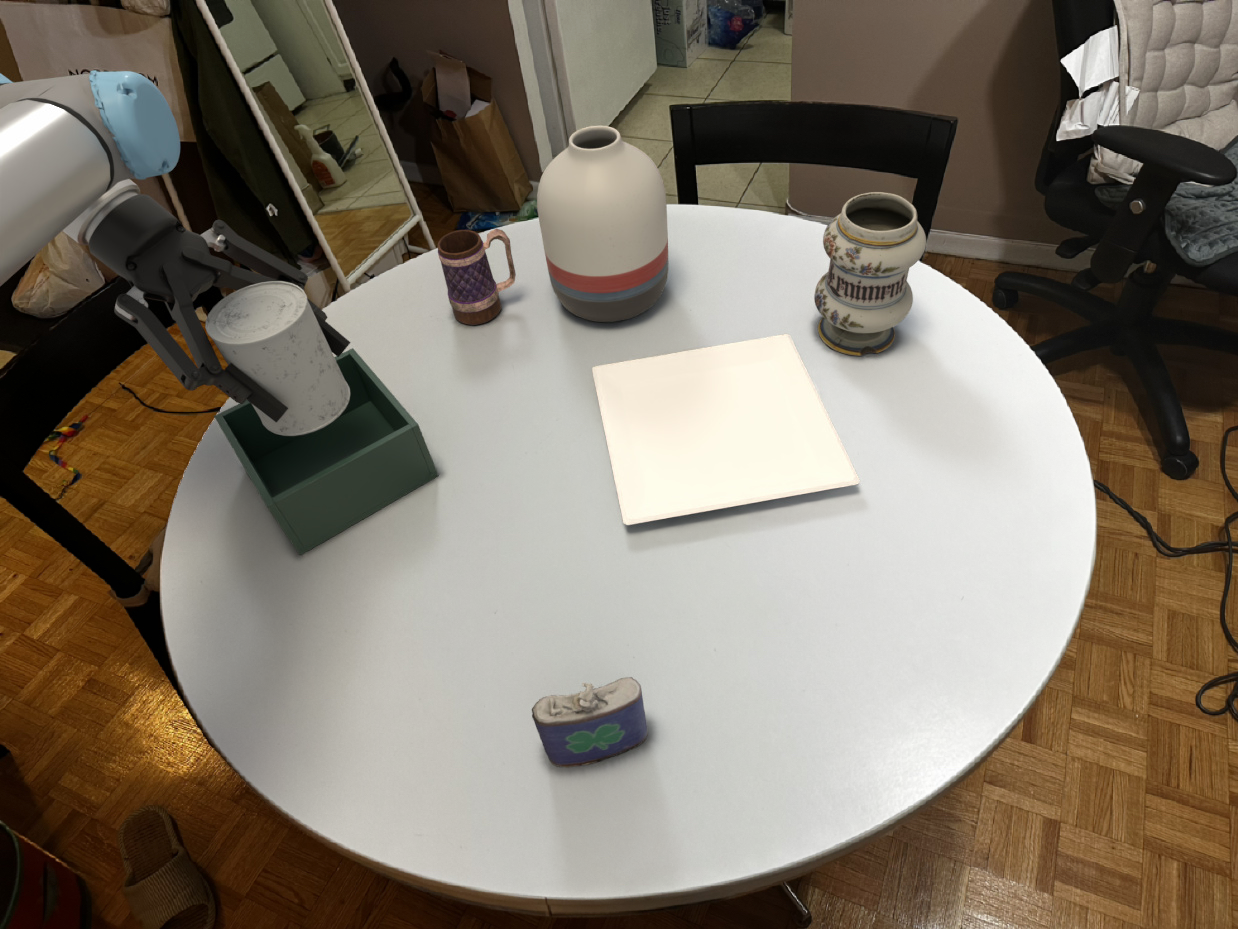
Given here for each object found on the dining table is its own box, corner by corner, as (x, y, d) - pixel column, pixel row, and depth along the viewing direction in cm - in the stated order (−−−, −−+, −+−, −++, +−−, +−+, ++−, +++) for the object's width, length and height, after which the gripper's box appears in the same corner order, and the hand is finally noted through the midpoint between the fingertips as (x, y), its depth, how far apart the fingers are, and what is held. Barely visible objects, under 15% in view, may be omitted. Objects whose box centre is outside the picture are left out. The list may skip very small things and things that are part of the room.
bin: (300, 555, 87) (266, 506, 80) (247, 466, 97) (213, 415, 90) (438, 475, 93) (418, 424, 86) (375, 399, 103) (352, 347, 96)
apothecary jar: (832, 370, 99) (852, 248, 86) (796, 314, 107) (809, 194, 94) (921, 350, 100) (954, 225, 87) (878, 296, 108) (903, 174, 95)
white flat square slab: (625, 535, 85) (623, 524, 83) (593, 377, 102) (591, 365, 101) (858, 494, 86) (861, 482, 84) (787, 344, 103) (789, 331, 102)
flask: (644, 717, 71) (636, 662, 63) (652, 748, 69) (645, 695, 61) (544, 742, 70) (524, 690, 62) (550, 774, 68) (529, 725, 60)
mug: (456, 331, 111) (434, 258, 102) (451, 301, 116) (430, 230, 107) (526, 316, 112) (511, 243, 103) (519, 287, 117) (504, 215, 108)
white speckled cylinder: (302, 364, 88) (255, 272, 79) (368, 386, 85) (327, 292, 75) (241, 421, 82) (183, 329, 73) (309, 446, 79) (258, 354, 70)
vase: (679, 265, 117) (675, 107, 99) (657, 337, 106) (648, 175, 89) (571, 258, 120) (548, 104, 103) (539, 327, 110) (507, 169, 92)
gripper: (192, 182, 82) (364, 330, 89) (14, 309, 69) (232, 470, 76) (206, 139, 76) (389, 300, 83) (15, 268, 63) (251, 446, 70)
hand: (314, 381), depth 80 cm, fingers closed on white speckled cylinder, 9 cm apart
